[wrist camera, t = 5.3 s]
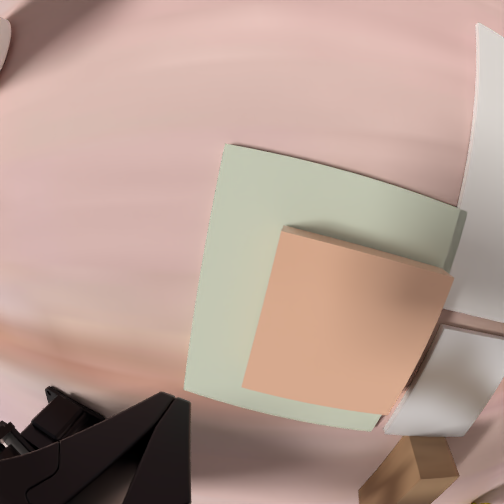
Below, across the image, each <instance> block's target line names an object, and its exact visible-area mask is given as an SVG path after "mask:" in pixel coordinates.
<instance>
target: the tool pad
mask: <svg viewBox="0 0 504 504" xmlns="http://www.w3.org/2000/svg"><path fill="white" fill-rule="evenodd" d="M475 28H476V81H475V98H474V109H473V119H472V128H471V136H470V143H469V149H468V155H467V161H466V167H465V172H464V177H463V182H462V187H461V191H460V196H459V200H458V204H457V208H459V209H461V210H463V211H465V212H463V211H461V210H460V211H461V212H462V213H461V214H463V213H466V214H465V215H467V216H466V218H465V217H464V218H465V219H466V221H465V220H464V218H463V217H462V216H463V215H462V216H459V215H458V217H462V219H463V220H462V221H465V223H463V222H460V221H459V220H460V219H461V218H460V219H459V218H458V219H459V220H458V221H459V223H462V224H461V225H459V226H460V227H461V226H463V224H465V225H464V226H463V227H462V229H463V232H461V234H462V235H461V237H460V235H459V238H461V239H460V242H459V246H458V247H456V248H458V249H455V252H456V251H457V252H456V254H455V252H452V253H453V254H455V255H453V254H452V253H451V251H450V250H448V252H449V251H450V253H449V254H452V255H453V256H455V258H454V261H453V264H452V260H451V263H450V264H452V265H449V264H448V263H447V264H448V267H449V266H451V267H450V268H451V269H450V273H449V274H450V275H451V276H453V277H454V281H453V283H452V286H451V289H450V291H449V294H448V296H447V299H446V302H445V304H444V307H443V309H447V310H451V311H455V312H459V313H464V314H468V315H472V316H476V317H480V318H485V319H489V320H493V321H497V322H502V323H504V37H502V36H501V35H499V34H498V33H496V32H494V31H493V30H491V29H489V28H488V27H486V26H484V25H482V24H481V23H479V22H478V23H477V24H475ZM465 215H464V216H465ZM458 221H457V223H456V224H457V225H458V224H459V223H458ZM456 227H458V226H456ZM456 227H455V229H456ZM457 229H458V230H455V231H459V229H460V228H457ZM460 230H461V229H460ZM461 231H462V230H461ZM459 232H460V231H459ZM455 234H457V233H454V234H453V238H454V237H455ZM459 234H460V233H459ZM457 235H458V234H457ZM457 235H456V238H457V239H458V237H457ZM456 238H455V240H454V239H453V240H452V244H454V243H455V242H456V241H457V242H458V241H459V239H458V240H456ZM454 241H455V242H454ZM452 244H450V245H451V246H452ZM455 244H456V243H455ZM457 245H458V244H457ZM453 246H454V245H453ZM453 248H454V247H453ZM449 249H452V248H449ZM452 250H454V249H452ZM447 255H448V254H447ZM452 255H451V257H452ZM448 256H449V255H448ZM448 256H447V258H448ZM449 257H450V256H449ZM448 259H449V258H448ZM452 259H453V258H452ZM449 260H450V259H449ZM446 261H447V259H446ZM447 262H448V261H447ZM445 263H446V262H445ZM445 263H444V267H446V266H445ZM448 267H446V268H444V269H446V270H447V268H448ZM448 269H449V268H448ZM447 271H448V270H447ZM448 272H449V271H448Z"/></svg>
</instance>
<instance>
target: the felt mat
mask: <svg viewBox="0 0 504 504" xmlns="http://www.w3.org/2000/svg"><path fill="white" fill-rule="evenodd" d="M460 210H461V209H459V208H456V207H454V206H451V205H448V204H446V203H443V202H440V201H438V200H435V199H432V198H429V197H427V196H424V195H421V194H418V193H415V192H412V191H409V190H406V189H403V188H400V187H397V186H394V185H391V184H388V183H385V182H382V181H378V180H375V179H372V178H368V177H365V176H362V175H358V174H355V173H351V172H348V171H344V170H340V169H337V168H333V167H329V166H325V165H322V164H318V163H314V162H310V161H306V160H301V159H297V158H293V157H289V156H284V155H280V154H275V153H270V152H266V151H261V150H256V149H251V148H246V147H241V146H235V145H230V144H225V147H224V151H223V156H222V161H221V166H220V170H219V175H218V180H217V185H216V190H215V195H214V200H213V206H212V211H211V216H210V221H209V227H208V232H207V238H206V243H205V249H204V255H203V260H202V266H201V272H200V278H199V284H198V290H197V297H196V303H195V310H194V316H193V323H192V330H191V337H190V344H189V351H188V358H187V366H186V374H185V382H184V390H186V391H189V392H192V393H195V394H198V395H201V396H204V397H207V398H211V399H214V400H217V401H221V402H224V403H227V404H231V405H235V406H238V407H242V408H246V409H249V410H253V411H257V412H261V413H266V414H270V415H274V416H279V417H283V418H288V419H293V420H298V421H303V422H308V423H313V424H319V425H325V426H331V427H338V428H345V429H352V430H360V431H369V432H371V431H372V429H373V428H374V426H375V425H376V423H377V422H378V420H379V418H380V417H381V415H380V414H372V413H364V412H357V411H350V410H344V409H338V408H332V407H326V406H321V405H315V404H310V403H305V402H300V401H295V400H291V399H286V398H282V397H277V396H273V395H269V394H265V393H261V392H257V391H253V390H249V389H246V388H242V387H241V386H242V383H243V379H244V375H245V371H246V368H247V364H248V360H249V356H250V353H251V349H252V345H253V341H254V337H255V333H256V330H257V326H258V322H259V318H260V314H261V310H262V306H263V302H264V298H265V294H266V290H267V286H268V282H269V278H270V274H271V270H272V266H273V262H274V258H275V254H276V250H277V246H278V242H279V238H280V234H281V230H282V228H283V225H285V226H289V227H293V228H297V229H301V230H305V231H308V232H312V233H316V234H320V235H324V236H328V237H332V238H336V239H339V240H343V241H347V242H351V243H354V244H358V245H362V246H365V247H369V248H373V249H376V250H380V251H384V252H387V253H391V254H394V255H398V256H401V257H405V258H408V259H412V260H415V261H419V262H422V263H426V264H429V265H433V266H436V267H439V268H442V269H443V270H445V271H446V272H447V273H450V269H451V268H450V267H451V266H449V267H448V264H449V265H452V264H453V261H454V258H455V256H453V255H455V254H456V252H457V251H456V252H455V249H458V248H456V247H458V246H459V242H460V239H461V238H459V235H460V237H461V235H462V234H461V232H463V229H462V227H463V226H464V225H465V224H463V226H461V227H460V226H459V225H461V224H462V223H459V221H460V222H463V223H465V221H466V219H465V218H466V216H467V215H465V214H466V213H463V214H461V213H462V212H461V211H463V210H461V211H460ZM463 212H465V211H463ZM458 215H459V216H462V215H463V216H462V217H463V218H464V217H465V218H464V220H465V221H462V220H463V219H462V217H458ZM464 215H465V216H464ZM458 218H459V219H460V218H461V219H460V220H459V219H458ZM458 220H459V221H458ZM457 221H458V223H459V224H458V225H457V224H456V223H457ZM456 226H458V227H456ZM455 227H456V229H455ZM457 228H460V229H461V230H462V231H461V230H460V229H459V231H460V232H459V231H455V230H458V229H457ZM454 233H457V234H458V235H457V234H455V237H454V238H453V234H454ZM459 233H460V234H459ZM456 235H457V237H458V239H459V241H458V242H457V241H456V242H455V241H454V242H455V243H456V244H455V243H454V244H452V240H453V239H454V240H455V238H456ZM458 239H457V238H456V240H458ZM450 244H452V246H451V245H450ZM457 244H458V245H457ZM453 245H454V246H453ZM453 247H454V248H453ZM449 248H452V249H454V250H452V249H449ZM448 250H450V251H451V253H452V252H455V254H453V253H452V254H453V255H452V254H449V253H450V251H449V252H448ZM447 254H448V255H449V256H450V257H449V256H448V255H447ZM451 255H452V257H451ZM447 256H448V258H449V259H450V260H449V259H448V258H447ZM452 258H453V259H452ZM446 259H447V261H448V262H447V261H446ZM451 260H452V264H450V263H451ZM445 262H446V263H445ZM444 263H445V266H446V267H448V268H449V269H448V268H447V270H448V271H449V272H448V271H447V270H446V269H444V268H446V267H444ZM447 263H448V264H447Z"/></svg>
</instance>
